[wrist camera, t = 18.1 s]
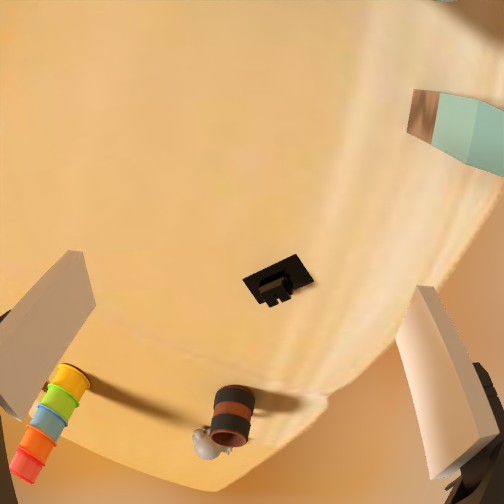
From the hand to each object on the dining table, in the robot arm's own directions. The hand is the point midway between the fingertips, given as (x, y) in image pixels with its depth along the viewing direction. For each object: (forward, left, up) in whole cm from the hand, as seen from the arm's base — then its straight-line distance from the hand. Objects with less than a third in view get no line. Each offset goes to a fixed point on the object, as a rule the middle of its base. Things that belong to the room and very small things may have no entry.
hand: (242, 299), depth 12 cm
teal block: (-7, +20, -24) cm, 32 cm away
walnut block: (-7, +20, -32) cm, 38 cm away
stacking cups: (+62, -45, -32) cm, 83 cm away
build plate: (+21, +3, -32) cm, 39 cm away
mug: (+55, -2, -32) cm, 63 cm away
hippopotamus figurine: (+74, -5, -32) cm, 81 cm away
